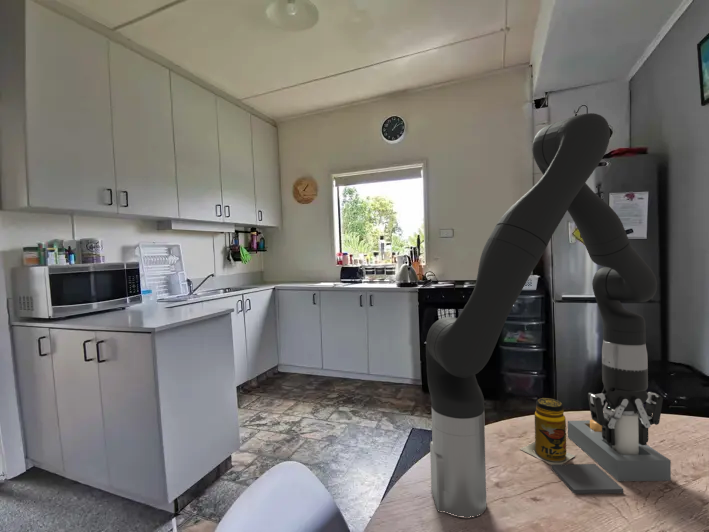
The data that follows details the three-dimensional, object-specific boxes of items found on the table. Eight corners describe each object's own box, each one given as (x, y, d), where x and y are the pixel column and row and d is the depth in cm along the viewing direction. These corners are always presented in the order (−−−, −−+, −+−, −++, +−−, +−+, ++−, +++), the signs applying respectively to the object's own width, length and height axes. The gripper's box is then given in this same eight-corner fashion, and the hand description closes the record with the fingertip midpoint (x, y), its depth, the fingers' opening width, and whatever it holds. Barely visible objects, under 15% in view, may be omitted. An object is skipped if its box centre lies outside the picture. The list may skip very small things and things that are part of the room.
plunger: (595, 447, 81) (595, 425, 81) (587, 440, 84) (586, 419, 84) (610, 447, 81) (609, 425, 81) (600, 439, 84) (600, 419, 84)
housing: (618, 481, 69) (617, 461, 69) (567, 437, 86) (567, 420, 86) (670, 480, 69) (670, 460, 69) (609, 436, 86) (609, 420, 86)
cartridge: (622, 472, 72) (621, 413, 71) (607, 460, 76) (606, 404, 76) (644, 472, 72) (643, 413, 71) (628, 459, 76) (627, 404, 76)
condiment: (556, 468, 74) (555, 411, 74) (519, 449, 81) (518, 397, 81) (575, 457, 78) (574, 402, 77) (538, 440, 85) (537, 390, 85)
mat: (574, 493, 66) (573, 489, 66) (551, 468, 74) (551, 464, 74) (623, 493, 66) (623, 489, 66) (595, 467, 74) (595, 463, 74)
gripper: (600, 369, 70) (602, 454, 70) (675, 368, 69) (676, 453, 70) (577, 358, 77) (579, 435, 78) (645, 357, 77) (646, 434, 77)
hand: (625, 443), depth 74 cm, fingers open, 5 cm apart
